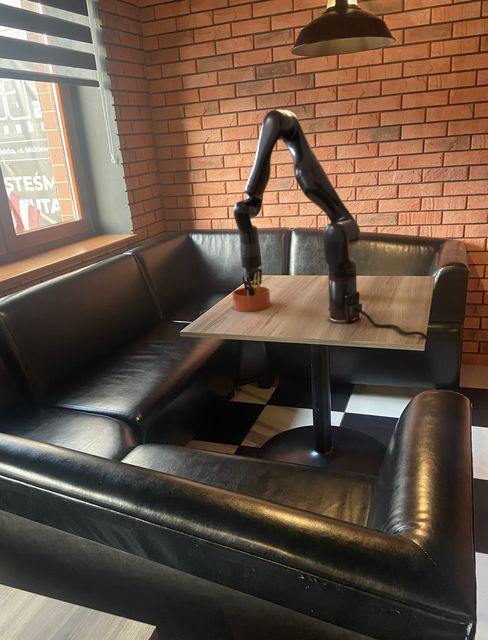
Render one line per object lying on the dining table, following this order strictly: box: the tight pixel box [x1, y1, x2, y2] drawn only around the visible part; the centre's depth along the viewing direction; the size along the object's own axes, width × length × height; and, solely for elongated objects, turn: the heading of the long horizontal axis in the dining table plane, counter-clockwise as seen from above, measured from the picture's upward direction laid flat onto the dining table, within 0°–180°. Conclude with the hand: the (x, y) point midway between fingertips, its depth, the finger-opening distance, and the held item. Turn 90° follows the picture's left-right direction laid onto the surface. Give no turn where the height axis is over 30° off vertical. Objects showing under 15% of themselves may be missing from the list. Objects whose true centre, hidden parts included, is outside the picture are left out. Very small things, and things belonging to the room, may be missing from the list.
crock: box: [232, 286, 271, 313], centre depth 208 cm, size 14×14×6 cm
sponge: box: [247, 284, 261, 296], centre depth 207 cm, size 4×4×7 cm
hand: (254, 297), depth 207 cm, fingers closed on sponge, 4 cm apart
